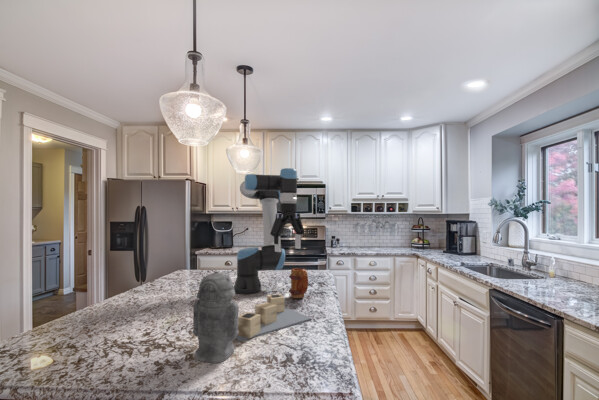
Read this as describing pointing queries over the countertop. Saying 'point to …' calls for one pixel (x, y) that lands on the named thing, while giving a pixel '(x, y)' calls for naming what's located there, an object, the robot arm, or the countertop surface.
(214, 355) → the figurine
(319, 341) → the countertop surface
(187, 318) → the countertop surface
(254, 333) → the labelled block
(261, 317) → the plain block
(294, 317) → the mat
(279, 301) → the labelled block
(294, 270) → the mug
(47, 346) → the countertop surface
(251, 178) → the robot arm
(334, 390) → the countertop surface
